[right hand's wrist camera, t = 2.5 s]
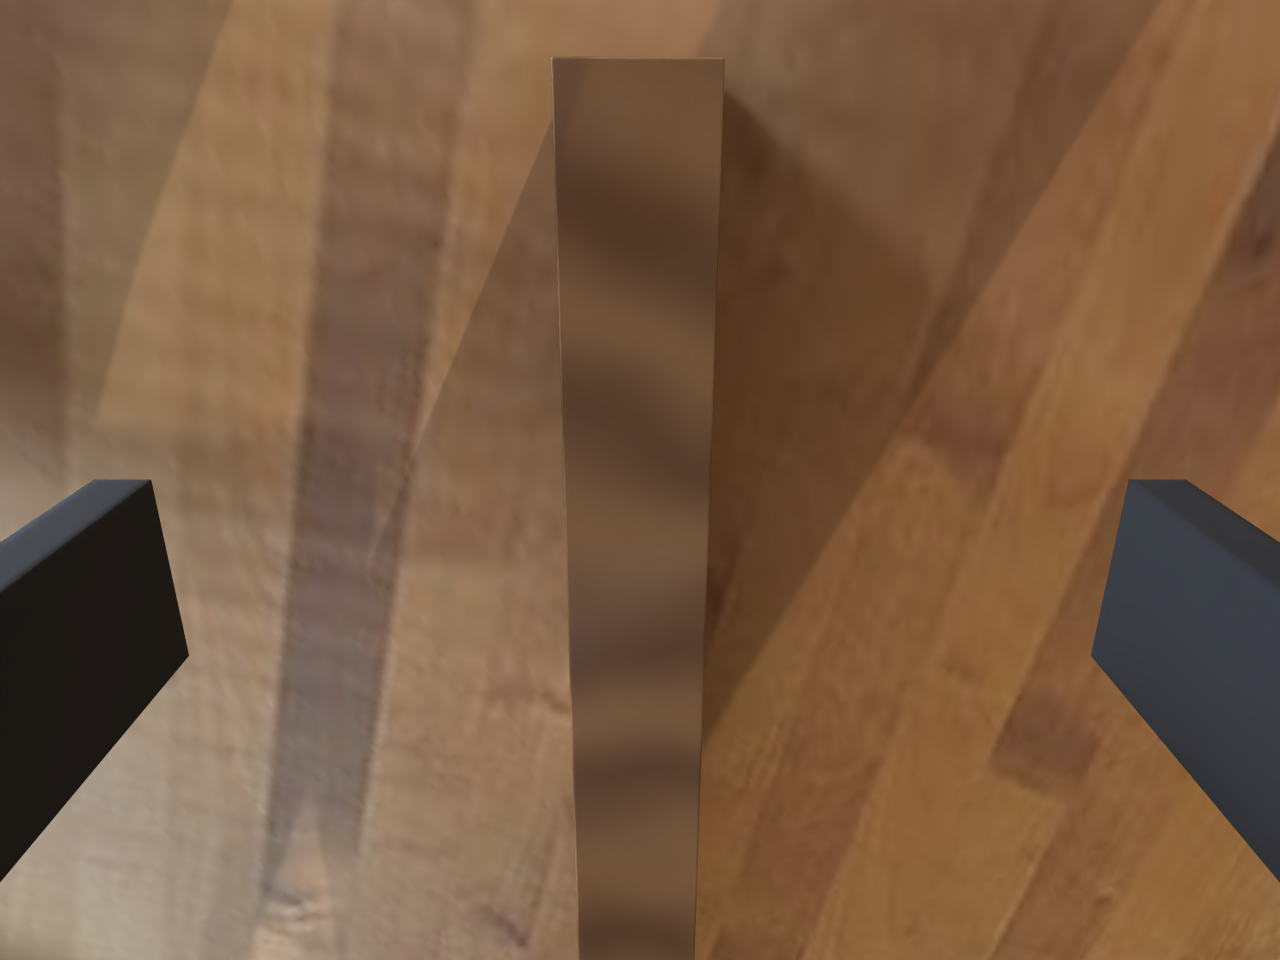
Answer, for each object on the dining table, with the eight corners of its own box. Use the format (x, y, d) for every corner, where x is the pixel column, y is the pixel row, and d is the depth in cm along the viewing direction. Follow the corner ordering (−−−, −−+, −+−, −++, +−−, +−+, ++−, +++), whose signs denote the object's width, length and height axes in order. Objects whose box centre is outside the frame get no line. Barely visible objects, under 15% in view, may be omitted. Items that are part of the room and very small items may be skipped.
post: (570, 69, 33) (550, 56, 26) (705, 70, 33) (724, 57, 26) (597, 1215, 58) (591, 1380, 51) (675, 1215, 58) (680, 1380, 51)
